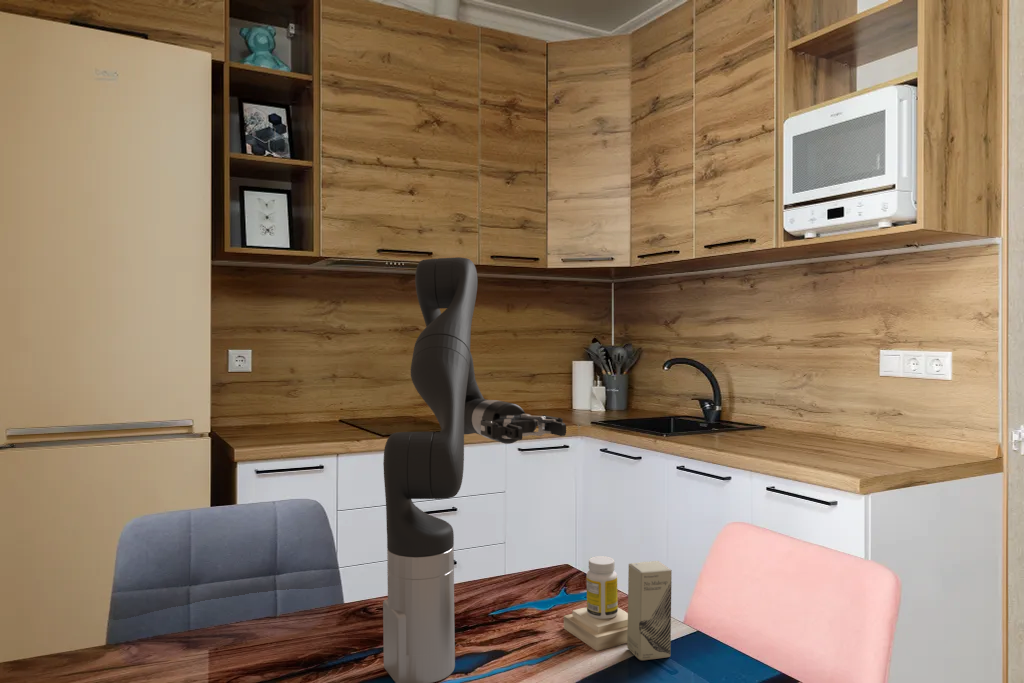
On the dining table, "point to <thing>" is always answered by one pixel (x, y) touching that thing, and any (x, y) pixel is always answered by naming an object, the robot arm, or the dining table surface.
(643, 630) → the box
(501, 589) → the dining table surface
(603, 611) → the supplement bottle
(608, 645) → the cream stand
